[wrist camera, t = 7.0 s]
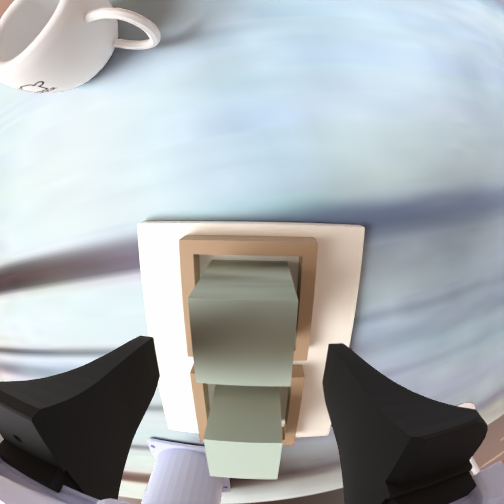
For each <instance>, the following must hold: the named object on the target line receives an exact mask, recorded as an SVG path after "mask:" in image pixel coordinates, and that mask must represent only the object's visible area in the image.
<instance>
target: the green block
mask: <svg viewBox="0 0 504 504" xmlns="http://www.w3.org/2000/svg"><path fill="white" fill-rule="evenodd" d="M188 305H189V318H190V330H191V340H192V350H193V360H194V369H195V378H196V382H197V383H208V384H222V385H240V386H291V377H292V367H293V357H294V347H295V336H296V324H297V311H298V298H297V294H296V291H295V287H294V284H293V280H292V277H291V273H290V269H289V266H288V262H287V261H257V260H211V262H210V264H209V265H208V267H207V268H206V270H205V271H204V273H203V275H202V276H201V278H200V279H199V281H198V283H197V284H196V286H195V287H194V289H193V290H192V292H191V294H190V295H189V297H188Z"/></svg>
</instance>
